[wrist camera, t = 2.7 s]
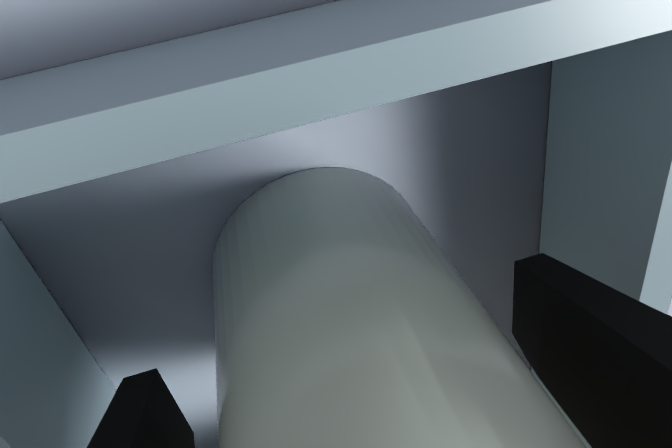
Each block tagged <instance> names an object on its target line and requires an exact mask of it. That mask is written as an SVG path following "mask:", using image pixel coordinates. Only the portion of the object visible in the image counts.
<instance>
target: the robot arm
mask: <svg viewBox="0 0 672 448" xmlns="http://www.w3.org/2000/svg"><path fill="white" fill-rule="evenodd" d="M512 334H513V335H514V337H515V339H516V341H517V342H518V344H519V346H520V348H521V349H522V351H523V353H524V355H525V356H526V358H527V360H528V361H529V363H530V365H531V366H532V368H533V370H534V371H535V373H536V375H537V376H538V378H539V379H540V380H541V382H542V383H543V384H544V386H545V387H546V388H547V390H548V391H549V392H550V394H551V395H552V396H553V398H554V399H555V400H556V402H557V403H558V404H559V406H560V407H561V408H562V410H563V411H564V412H565V413H566V415H567V416H568V417H569V419H570V420H571V421H572V423H573V424H574V425H575V427H576V428H577V429H578V430H579V432H580V433H581V434H582V436H583V437H584V438H585V440H586V441H587V442H588V443H589V445H590V446H591V447H592V448H672V317H671V316H669V315H667V314H665V313H663V312H661V311H659V310H656V309H654V308H652V307H650V306H648V305H646V304H644V303H642V302H640V301H638V300H636V299H634V298H632V297H630V296H628V295H626V294H624V293H622V292H620V291H618V290H616V289H614V288H612V287H610V286H608V285H606V284H604V283H602V282H600V281H598V280H596V279H594V278H592V277H590V276H588V275H586V274H584V273H582V272H580V271H578V270H576V269H574V268H572V267H570V266H568V265H566V264H564V263H562V262H560V261H558V260H556V259H554V258H552V257H550V256H548V255H546V254H544V253H541V254H538V255H534V256H531V257H527V258H524V259H521V260H517V261H515V264H514V292H513V321H512ZM87 448H195V445H194V433H193V431H192V429H191V427H190V426H189V424H188V422H187V421H186V419H185V417H184V415H183V414H182V412H181V410H180V408H179V407H178V405H177V403H176V401H175V400H174V398H173V396H172V395H171V393H170V391H169V389H168V388H167V386H166V384H165V382H164V381H163V379H162V377H161V375H160V374H159V372H158V370H157V369H152V370H149V371H146V372H142V373H139V374H136V375H132V376H129V377H126V378H124V379H123V380H122V382H121V383H120V385H119V387H118V389H117V391H116V393H115V395H114V396H113V398H112V400H111V402H110V404H109V406H108V408H107V410H106V412H105V414H104V416H103V417H102V419H101V421H100V423H99V425H98V427H97V429H96V431H95V433H94V435H93V436H92V438H91V440H90V442H89V444H88V446H87Z"/></svg>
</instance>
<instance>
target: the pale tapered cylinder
mask: <svg viewBox="0 0 672 448" xmlns="http://www.w3.org/2000/svg"><path fill="white" fill-rule="evenodd" d="M213 283H214V317H215V351H216V386H217V420H218V448H586V446H585V445H584V443H583V442H582V441H581V439H580V438H579V437H578V435H577V434H576V433H575V431H574V430H573V428H572V427H571V426H570V424H569V423H568V422H567V420H566V419H565V418H564V416H563V415H562V413H561V412H560V411H559V409H558V408H557V407H556V405H555V404H554V402H553V401H552V400H551V398H550V397H549V396H548V394H547V393H546V392H545V390H544V389H543V387H542V386H541V385H540V383H539V382H538V381H537V379H536V378H535V377H534V375H533V374H532V372H531V371H530V370H529V368H528V367H527V366H526V364H525V363H524V361H523V360H522V359H521V357H520V356H519V355H518V353H517V352H516V351H515V349H514V348H513V346H512V345H511V344H510V342H509V341H508V340H507V338H506V337H505V336H504V334H503V333H502V331H501V330H500V329H499V327H498V326H497V325H496V323H495V322H494V320H493V319H492V318H491V316H490V315H489V314H488V312H487V311H486V310H485V308H484V307H483V305H482V304H481V303H480V301H479V300H478V299H477V297H476V296H475V295H474V293H473V292H472V290H471V289H470V288H469V286H468V285H467V284H466V282H465V281H464V279H463V278H462V277H461V275H460V274H459V273H458V271H457V270H456V269H455V267H454V266H453V264H452V263H451V262H450V260H449V259H448V258H447V256H446V255H445V254H444V252H443V251H442V249H441V248H440V247H439V245H438V244H437V243H436V241H435V240H434V238H433V237H432V236H431V234H430V233H429V232H428V230H427V229H426V228H425V226H424V225H423V223H422V222H421V221H420V219H419V218H418V217H417V215H416V214H415V213H414V211H413V210H412V208H411V207H410V206H409V204H408V203H407V202H406V200H405V199H404V198H403V197H402V195H401V194H400V193H399V192H397V191H396V190H395V189H394V188H393V187H392V186H390V185H389V184H387V183H386V182H384V181H383V180H381V179H379V178H377V177H375V176H373V175H371V174H368V173H365V172H361V171H358V170H353V169H347V168H336V167H324V168H313V169H308V170H303V171H298V172H295V173H292V174H289V175H286V176H283V177H281V178H279V179H277V180H275V181H273V182H270V183H269V184H267V185H265V186H264V187H262V188H261V189H259V190H257V191H256V192H255V193H253V194H252V195H251V196H250V197H248V198H247V199H246V200H245V201H244V202H243V203H242V204H241V205H240V206H239V207H238V208H237V209H236V210H235V211H234V213H233V214H232V215H231V217H230V218H229V219H228V221H227V222H226V224H225V226H224V228H223V230H222V232H221V233H220V236H219V239H218V241H217V244H216V248H215V253H214V258H213Z"/></svg>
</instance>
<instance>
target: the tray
mask: <svg viewBox="0 0 672 448" xmlns="http://www.w3.org/2000/svg"><path fill="white" fill-rule="evenodd" d="M549 61H553V64H552V78H551V92H550V106H549V120H548V134H547V149H546V163H545V177H544V191H543V205H542V220H541V234H540V248H539V254H541V253H544V254H546V255H548V256H550V257H552V258H554V259H556V260H558V261H560V262H562V263H564V264H566V265H568V266H570V267H572V268H574V269H576V270H578V271H580V272H582V273H584V274H586V275H588V276H590V277H592V278H594V279H596V280H598V281H600V282H602V283H604V284H606V285H608V286H610V287H612V288H614V289H616V290H618V291H620V292H622V293H624V294H626V295H628V296H630V297H632V298H634V299H636V300H638V301H640V302H642V303H644V304H646V305H648V306H650V307H652V308H654V309H656V310H659V311H661V312H663V313H665V314H667V313H668V309H669V306H670V302H671V299H672V0H339V1H335V2H331V3H327V4H322V5H318V6H314V7H310V8H305V9H301V10H297V11H292V12H288V13H284V14H280V15H275V16H271V17H267V18H263V19H258V20H254V21H250V22H246V23H241V24H237V25H233V26H229V27H224V28H220V29H216V30H212V31H207V32H203V33H199V34H195V35H190V36H186V37H182V38H178V39H173V40H169V41H165V42H161V43H156V44H152V45H148V46H143V47H139V48H135V49H131V50H126V51H122V52H118V53H114V54H109V55H105V56H101V57H97V58H92V59H88V60H84V61H80V62H75V63H71V64H67V65H63V66H58V67H54V68H50V69H46V70H41V71H37V72H33V73H29V74H24V75H20V76H16V77H12V78H7V79H3V80H0V203H3V202H7V201H11V200H15V199H19V198H23V197H27V196H30V195H34V194H38V193H42V192H46V191H50V190H54V189H58V188H61V187H65V186H69V185H73V184H77V183H81V182H85V181H89V180H92V179H96V178H100V177H104V176H108V175H112V174H116V173H119V172H123V171H127V170H131V169H135V168H139V167H143V166H147V165H150V164H154V163H158V162H162V161H166V160H170V159H174V158H178V157H181V156H185V155H189V154H193V153H197V152H201V151H205V150H208V149H212V148H216V147H220V146H224V145H228V144H232V143H236V142H239V141H243V140H247V139H251V138H255V137H259V136H263V135H267V134H270V133H274V132H278V131H282V130H286V129H290V128H294V127H298V126H301V125H305V124H309V123H313V122H317V121H321V120H325V119H328V118H332V117H336V116H340V115H344V114H348V113H352V112H356V111H359V110H363V109H367V108H371V107H375V106H379V105H383V104H387V103H390V102H394V101H398V100H402V99H406V98H410V97H414V96H418V95H421V94H425V93H429V92H433V91H437V90H441V89H445V88H448V87H452V86H456V85H460V84H464V83H468V82H472V81H476V80H479V79H483V78H487V77H491V76H495V75H499V74H503V73H507V72H510V71H514V70H518V69H522V68H526V67H530V66H534V65H538V64H541V63H545V62H549ZM531 372H532V374H533V375H534V377H535V378H536V379H537V381H538V382H539V383H540V385H541V386H542V387H543V389H544V390H545V392H546V393H547V394H548V396H549V397H550V398H551V400H552V401H553V402H554V404H555V405H556V407H557V408H558V409H559V411H560V412H561V413H562V415H563V416H564V418H565V419H566V420H567V422H568V423H569V424H570V426H571V427H572V428H573V430H574V431H575V433H576V434H577V435H578V437H579V438H580V439H581V441H582V442H583V443H584V445H585V446H586V448H592V447H591V446H590V445H589V443H588V442H587V441H586V440H585V438H584V437H583V436H582V434H581V433H580V432H579V430H578V429H577V428H576V427H575V425H574V424H573V423H572V421H571V420H570V419H569V417H568V416H567V415H566V413H565V412H564V411H563V410H562V408H561V407H560V406H559V404H558V403H557V402H556V400H555V399H554V398H553V396H552V395H551V394H550V392H549V391H548V390H547V388H546V387H545V386H544V384H543V383H542V382H541V380H540V379H539V378H538V376H537V375H536V373H535V371H534V370H533V368H532V366H531ZM115 393H116V391H115V389H114V388H113V386H112V385H111V383H110V382H109V380H108V379H107V377H106V376H105V374H104V373H103V371H102V370H101V368H100V367H99V365H98V364H97V363H96V361H95V360H94V358H93V357H92V355H91V354H90V352H89V351H88V349H87V348H86V346H85V345H84V343H83V342H82V340H81V339H80V337H79V336H78V334H77V333H76V331H75V330H74V328H73V327H72V325H71V324H70V322H69V321H68V319H67V318H66V316H65V315H64V314H63V312H62V311H61V309H60V308H59V306H58V305H57V303H56V302H55V300H54V299H53V297H52V296H51V294H50V293H49V291H48V290H47V288H46V287H45V285H44V284H43V282H42V281H41V279H40V278H39V276H38V275H37V273H36V272H35V270H34V269H33V267H32V266H31V265H30V263H29V262H28V260H27V259H26V257H25V256H24V254H23V253H22V251H21V250H20V248H19V247H18V245H17V244H16V242H15V241H14V239H13V238H12V236H11V235H10V233H9V232H8V230H7V229H6V227H5V226H4V224H3V223H2V221H1V220H0V448H87V446H88V444H89V442H90V440H91V438H92V436H93V435H94V433H95V431H96V429H97V427H98V425H99V423H100V421H101V419H102V417H103V416H104V414H105V412H106V410H107V408H108V406H109V404H110V402H111V400H112V398H113V396H114V395H115Z"/></svg>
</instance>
